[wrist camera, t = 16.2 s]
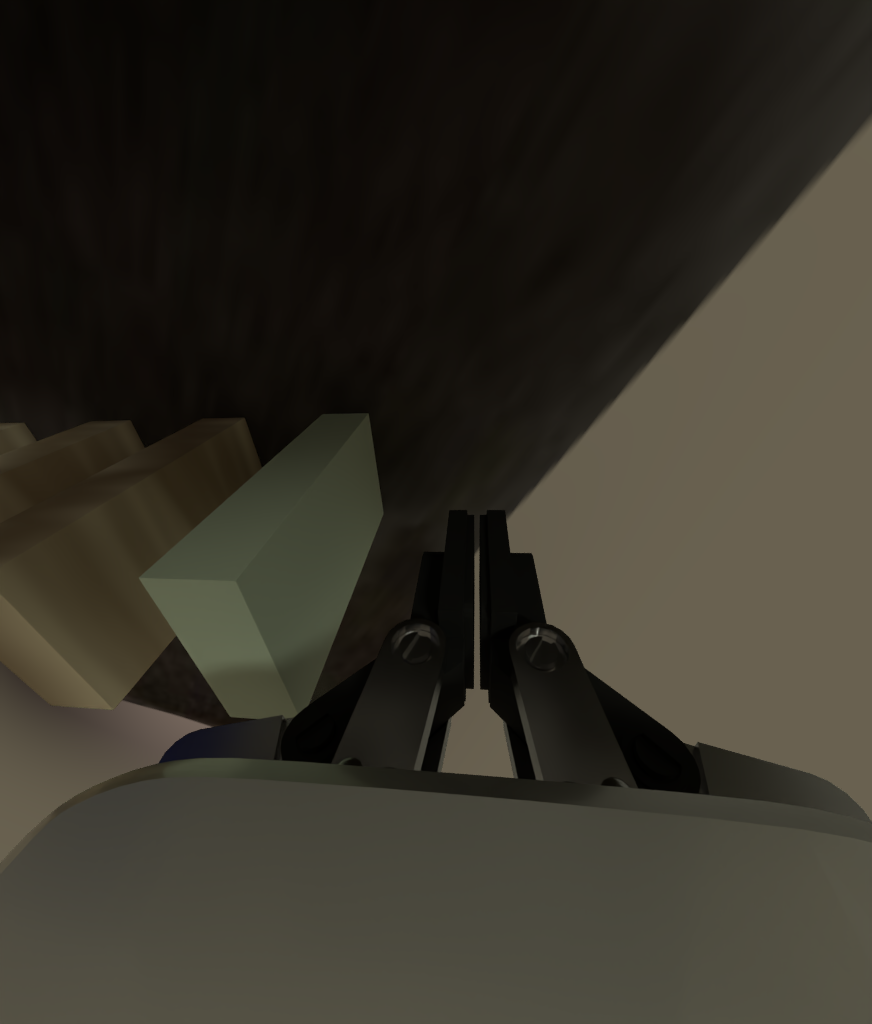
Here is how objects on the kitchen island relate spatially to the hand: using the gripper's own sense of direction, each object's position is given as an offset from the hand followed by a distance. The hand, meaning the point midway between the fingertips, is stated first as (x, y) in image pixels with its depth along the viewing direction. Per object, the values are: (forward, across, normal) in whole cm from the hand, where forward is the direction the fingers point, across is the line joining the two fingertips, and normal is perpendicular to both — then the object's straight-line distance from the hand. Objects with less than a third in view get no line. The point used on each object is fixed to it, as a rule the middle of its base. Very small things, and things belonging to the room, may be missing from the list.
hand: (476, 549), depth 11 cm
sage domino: (+6, +6, 0) cm, 8 cm away
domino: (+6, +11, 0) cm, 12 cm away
